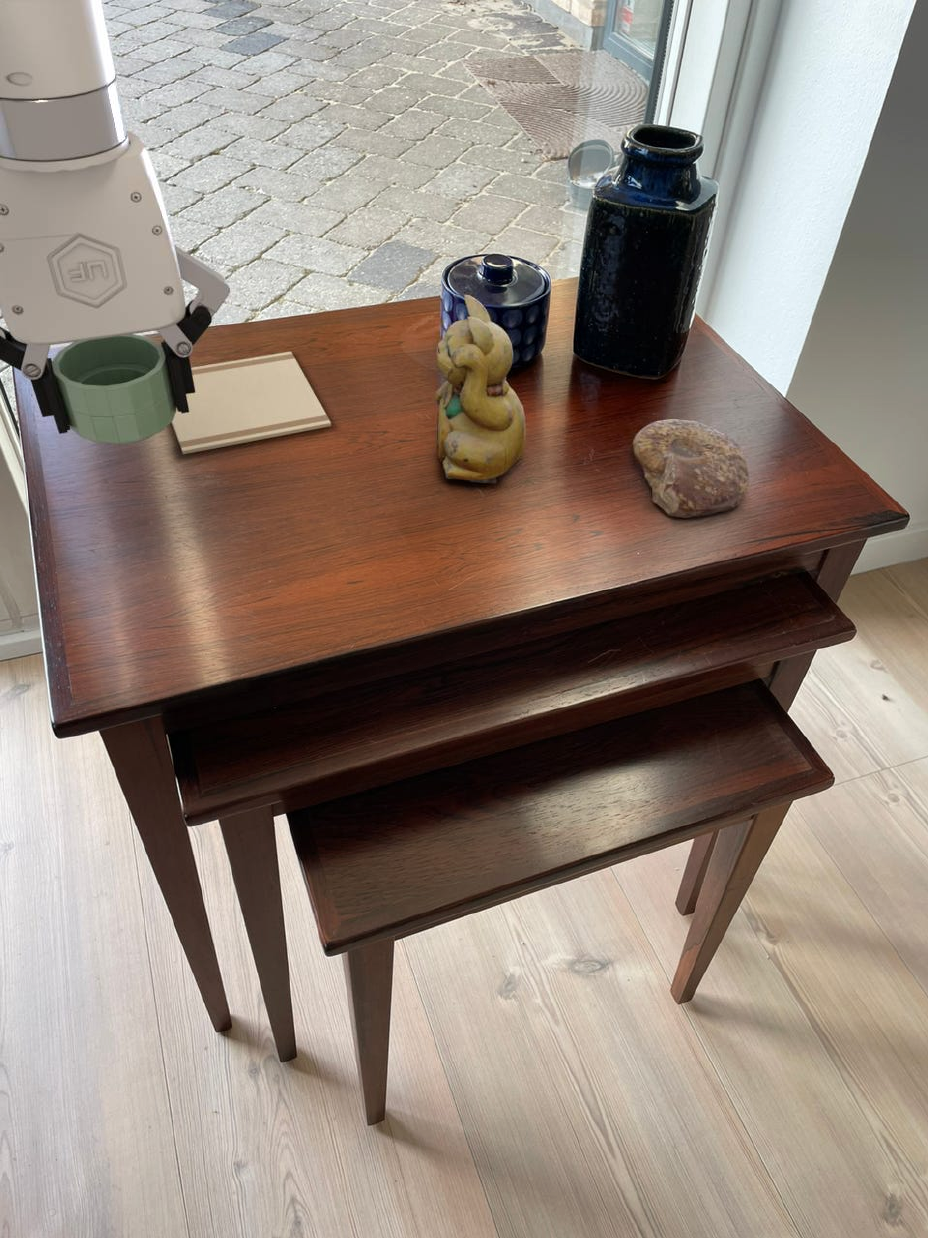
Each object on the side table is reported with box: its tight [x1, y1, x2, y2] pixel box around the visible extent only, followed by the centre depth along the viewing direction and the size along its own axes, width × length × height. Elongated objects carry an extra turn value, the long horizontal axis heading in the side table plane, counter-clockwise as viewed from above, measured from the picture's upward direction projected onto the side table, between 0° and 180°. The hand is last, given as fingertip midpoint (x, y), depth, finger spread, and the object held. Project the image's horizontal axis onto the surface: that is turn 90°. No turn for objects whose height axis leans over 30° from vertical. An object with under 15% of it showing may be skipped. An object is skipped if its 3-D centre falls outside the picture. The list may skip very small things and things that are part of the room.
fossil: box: [632, 418, 750, 519], centre depth 81 cm, size 13×5×10 cm
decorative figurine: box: [434, 294, 527, 485], centre depth 77 cm, size 10×8×15 cm
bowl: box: [52, 334, 177, 445], centre depth 58 cm, size 7×7×4 cm
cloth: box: [171, 351, 332, 455], centre depth 88 cm, size 14×14×1 cm
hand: (122, 410), depth 59 cm, fingers closed on bowl, 6 cm apart
